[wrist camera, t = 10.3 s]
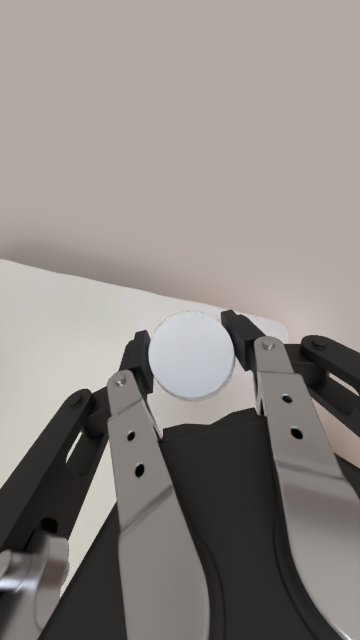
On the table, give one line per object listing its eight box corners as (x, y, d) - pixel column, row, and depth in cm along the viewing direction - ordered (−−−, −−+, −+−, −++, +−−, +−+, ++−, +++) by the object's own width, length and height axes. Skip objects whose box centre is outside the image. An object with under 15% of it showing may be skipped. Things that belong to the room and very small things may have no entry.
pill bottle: (211, 328, 17) (236, 287, 8) (224, 380, 16) (272, 405, 6) (162, 337, 17) (129, 307, 8) (170, 389, 16) (140, 428, 7)
